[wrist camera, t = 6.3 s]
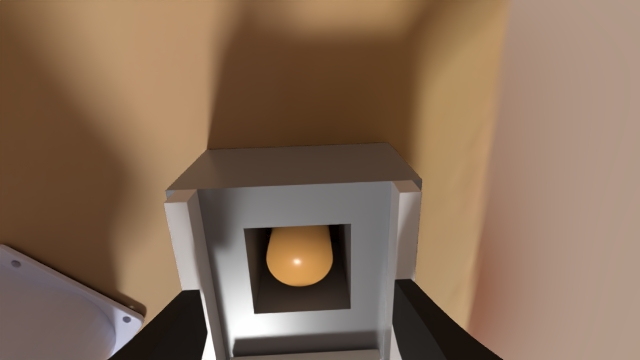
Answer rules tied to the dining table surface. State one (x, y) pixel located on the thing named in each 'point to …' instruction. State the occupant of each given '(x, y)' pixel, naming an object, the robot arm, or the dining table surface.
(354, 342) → the housing
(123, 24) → the dining table surface
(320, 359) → the lid
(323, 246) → the peg
